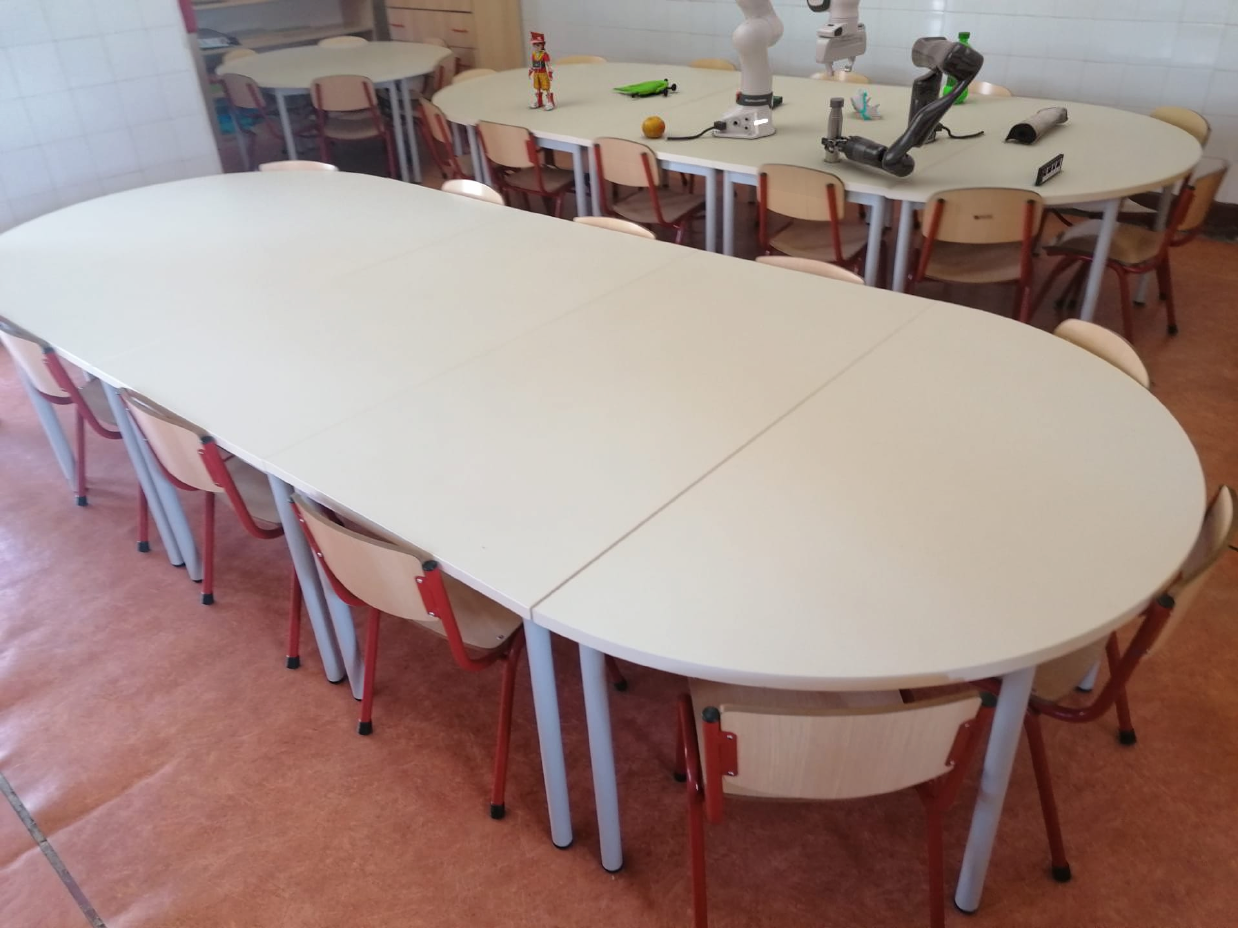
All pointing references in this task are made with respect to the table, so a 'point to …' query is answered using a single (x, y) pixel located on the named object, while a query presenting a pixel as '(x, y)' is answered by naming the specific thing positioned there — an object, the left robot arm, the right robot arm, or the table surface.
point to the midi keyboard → (1049, 169)
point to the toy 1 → (541, 71)
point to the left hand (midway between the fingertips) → (839, 74)
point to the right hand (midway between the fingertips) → (828, 139)
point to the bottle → (834, 132)
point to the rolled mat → (1037, 125)
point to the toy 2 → (648, 88)
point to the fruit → (653, 127)
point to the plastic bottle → (951, 82)
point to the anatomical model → (864, 105)
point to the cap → (837, 102)
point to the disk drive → (777, 101)
